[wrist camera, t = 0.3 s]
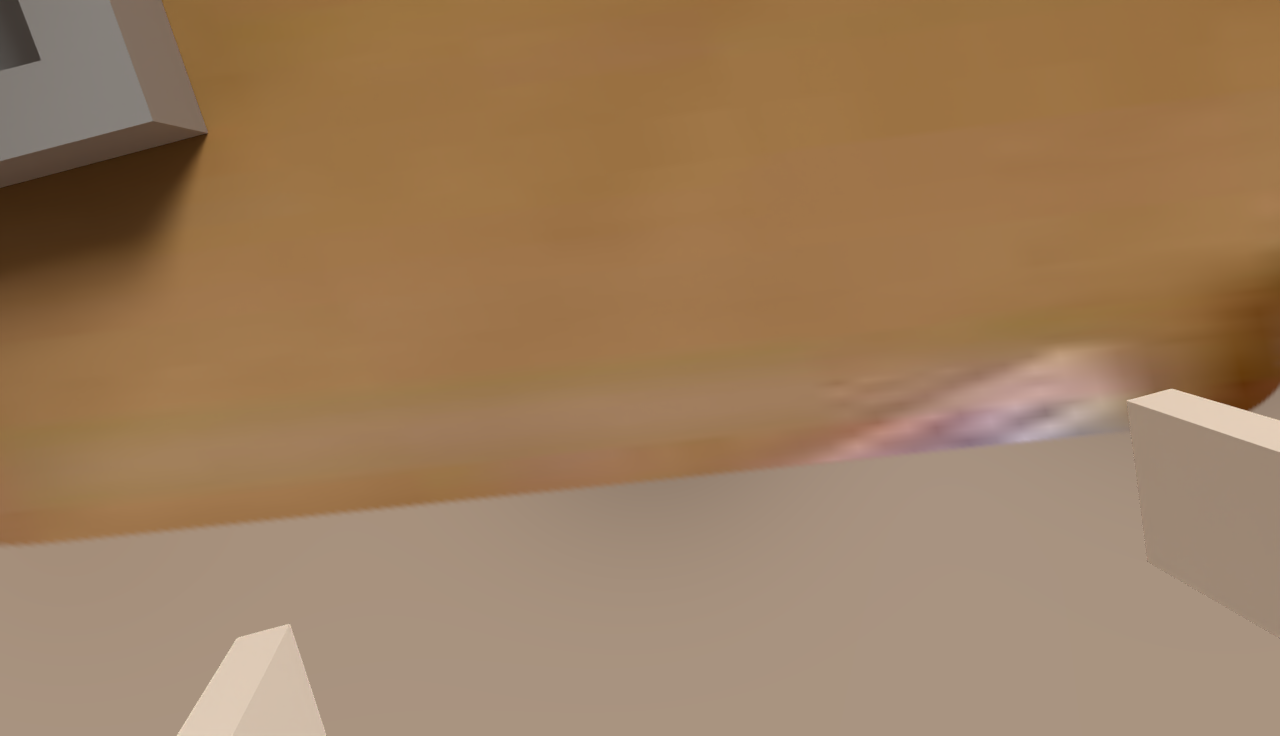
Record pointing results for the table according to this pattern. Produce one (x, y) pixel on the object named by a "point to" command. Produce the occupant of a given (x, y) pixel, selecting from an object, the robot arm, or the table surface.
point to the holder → (88, 84)
